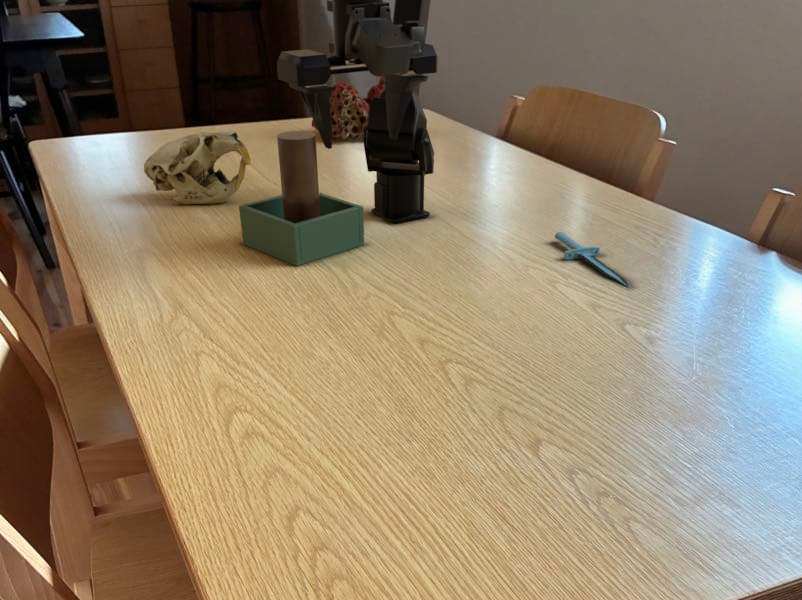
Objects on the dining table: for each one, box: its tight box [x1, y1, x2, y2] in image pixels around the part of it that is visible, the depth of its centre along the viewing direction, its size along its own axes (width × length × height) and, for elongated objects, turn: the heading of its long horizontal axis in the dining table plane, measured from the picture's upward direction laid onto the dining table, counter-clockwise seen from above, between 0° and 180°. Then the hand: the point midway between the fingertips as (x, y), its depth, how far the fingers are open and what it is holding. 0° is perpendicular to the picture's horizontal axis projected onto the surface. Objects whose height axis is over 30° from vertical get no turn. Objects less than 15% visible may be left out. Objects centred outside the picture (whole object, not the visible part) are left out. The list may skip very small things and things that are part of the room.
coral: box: [311, 77, 385, 141], centre depth 155 cm, size 18×13×15 cm
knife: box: [554, 231, 629, 288], centre depth 103 cm, size 17×1×5 cm
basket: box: [238, 192, 365, 267], centre depth 107 cm, size 12×12×5 cm
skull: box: [143, 129, 251, 205], centre depth 121 cm, size 10×16×10 cm, turn 78°
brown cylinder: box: [276, 130, 321, 223], centre depth 104 cm, size 5×5×13 cm
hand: (361, 143), depth 99 cm, fingers open, 9 cm apart
